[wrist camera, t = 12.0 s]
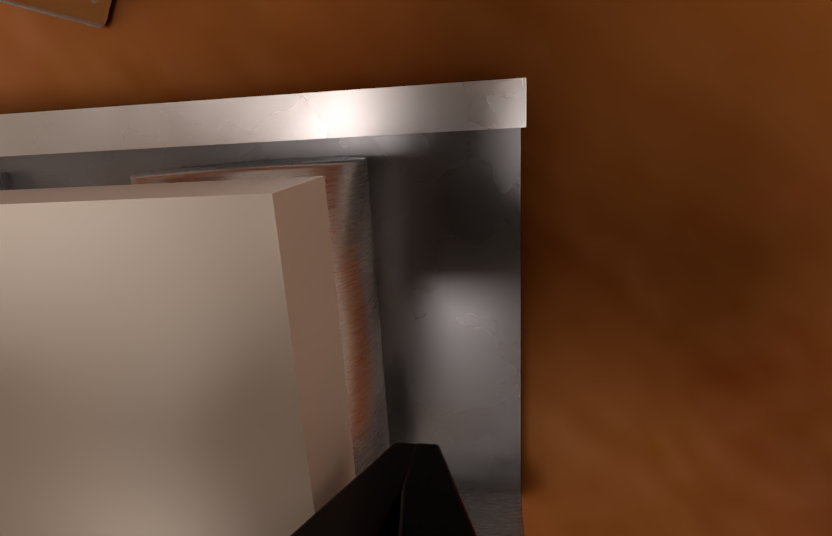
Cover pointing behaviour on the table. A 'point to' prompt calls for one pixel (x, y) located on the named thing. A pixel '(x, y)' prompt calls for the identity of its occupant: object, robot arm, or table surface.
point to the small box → (69, 9)
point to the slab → (170, 359)
